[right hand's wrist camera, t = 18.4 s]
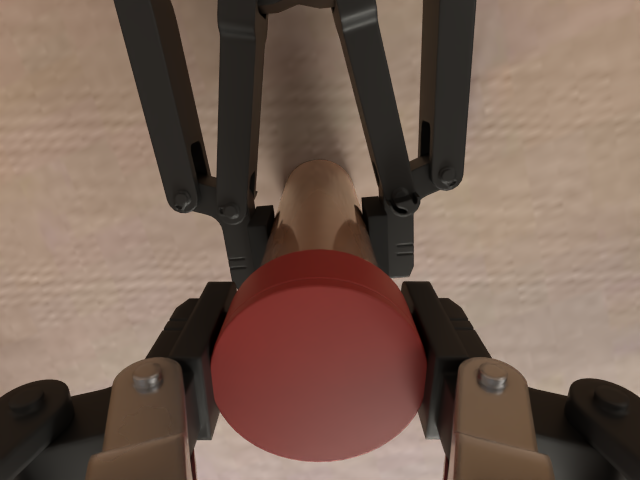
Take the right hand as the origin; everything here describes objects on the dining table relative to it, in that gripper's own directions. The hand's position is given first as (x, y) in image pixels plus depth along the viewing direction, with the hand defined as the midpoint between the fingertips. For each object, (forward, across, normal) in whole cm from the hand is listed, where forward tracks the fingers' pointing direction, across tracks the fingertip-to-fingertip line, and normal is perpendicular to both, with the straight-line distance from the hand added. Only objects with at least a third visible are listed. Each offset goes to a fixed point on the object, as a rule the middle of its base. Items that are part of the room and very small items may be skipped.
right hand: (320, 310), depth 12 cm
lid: (-3, 0, 0) cm, 3 cm away
